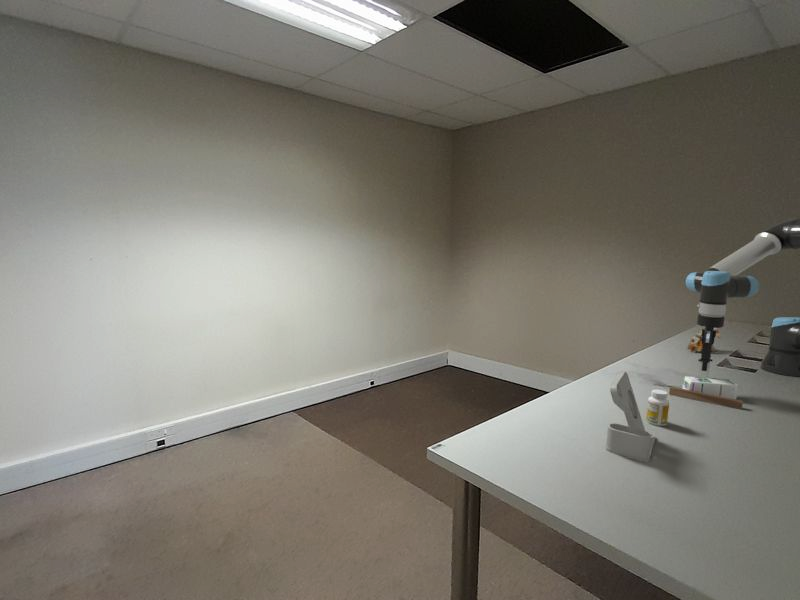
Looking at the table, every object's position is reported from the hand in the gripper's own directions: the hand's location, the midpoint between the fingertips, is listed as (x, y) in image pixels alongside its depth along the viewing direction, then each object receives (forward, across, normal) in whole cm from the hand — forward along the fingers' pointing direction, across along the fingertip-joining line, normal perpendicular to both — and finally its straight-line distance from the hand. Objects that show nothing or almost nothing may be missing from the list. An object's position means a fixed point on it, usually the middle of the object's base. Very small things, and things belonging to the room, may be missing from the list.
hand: (703, 378), depth 148 cm
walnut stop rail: (+5, +10, +1) cm, 11 cm away
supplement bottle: (+4, +40, -9) cm, 41 cm away
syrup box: (+2, 0, +9) cm, 9 cm away
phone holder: (+4, +60, -12) cm, 61 cm away
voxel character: (+7, -67, -3) cm, 67 cm away
